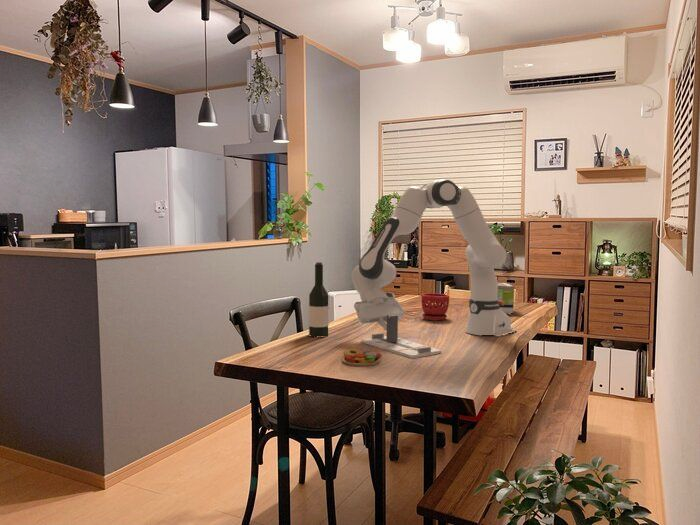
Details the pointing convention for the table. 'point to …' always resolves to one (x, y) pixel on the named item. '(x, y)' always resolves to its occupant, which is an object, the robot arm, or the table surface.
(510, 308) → the tea box
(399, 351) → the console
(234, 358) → the table surface
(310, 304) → the wine bottle
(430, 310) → the plant pot
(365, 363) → the toy food set
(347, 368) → the table surface
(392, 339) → the fader tab
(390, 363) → the table surface
